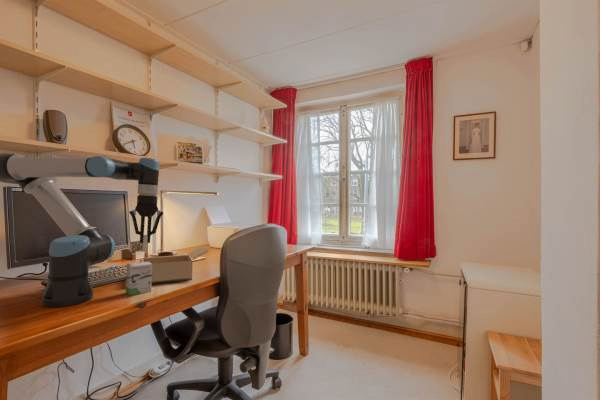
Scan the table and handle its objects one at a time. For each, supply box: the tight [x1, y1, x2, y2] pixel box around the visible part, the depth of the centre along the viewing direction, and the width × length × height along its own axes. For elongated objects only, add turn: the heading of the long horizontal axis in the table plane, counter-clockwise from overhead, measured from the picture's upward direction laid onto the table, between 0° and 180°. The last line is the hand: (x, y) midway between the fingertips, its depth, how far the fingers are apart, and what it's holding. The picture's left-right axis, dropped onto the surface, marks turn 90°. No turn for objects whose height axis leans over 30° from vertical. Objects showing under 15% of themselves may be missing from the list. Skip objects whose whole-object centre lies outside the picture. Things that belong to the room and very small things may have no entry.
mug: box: [157, 251, 175, 257], centre depth 155 cm, size 12×8×9 cm, turn 56°
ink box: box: [125, 261, 153, 296], centre depth 120 cm, size 9×5×12 cm, turn 134°
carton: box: [139, 254, 193, 285], centre depth 141 cm, size 24×21×9 cm
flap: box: [188, 245, 209, 261], centre depth 148 cm, size 1×14×8 cm
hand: (144, 250), depth 123 cm, fingers closed
